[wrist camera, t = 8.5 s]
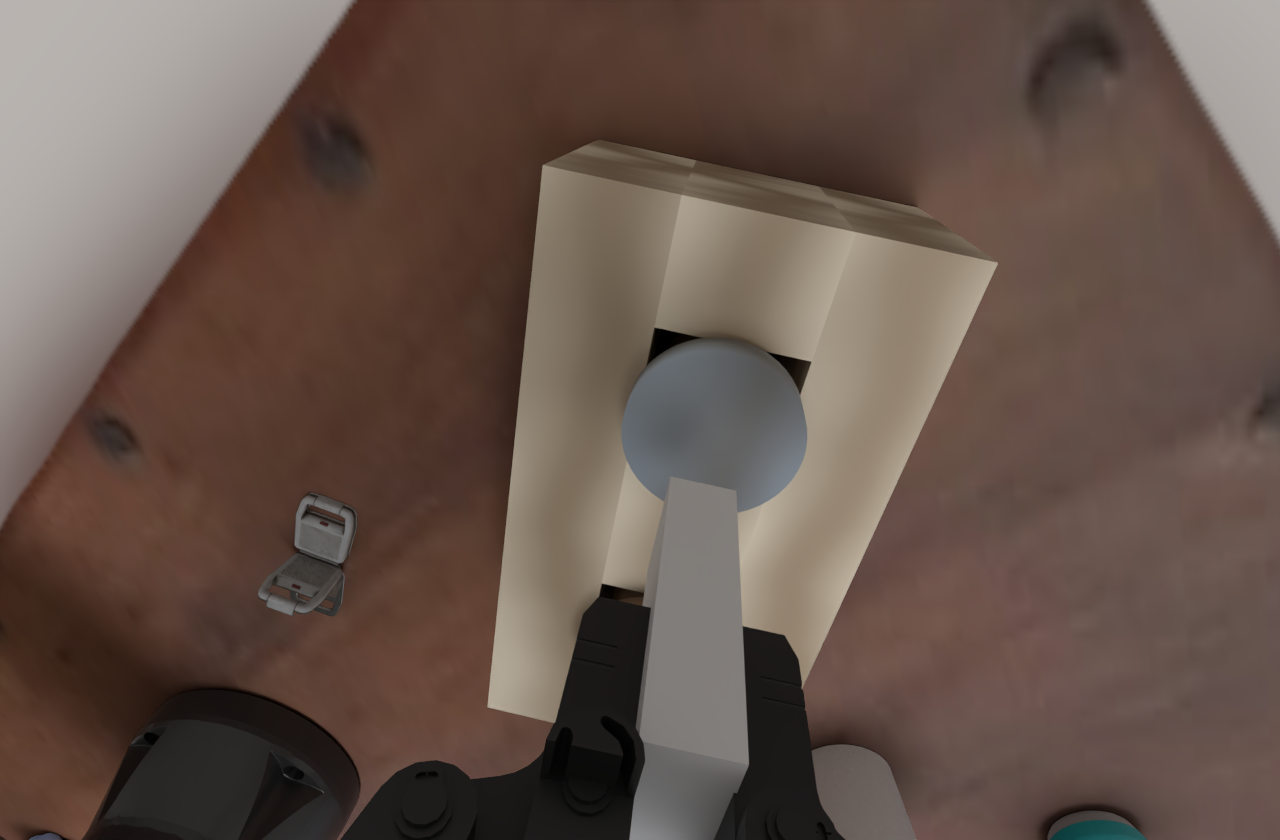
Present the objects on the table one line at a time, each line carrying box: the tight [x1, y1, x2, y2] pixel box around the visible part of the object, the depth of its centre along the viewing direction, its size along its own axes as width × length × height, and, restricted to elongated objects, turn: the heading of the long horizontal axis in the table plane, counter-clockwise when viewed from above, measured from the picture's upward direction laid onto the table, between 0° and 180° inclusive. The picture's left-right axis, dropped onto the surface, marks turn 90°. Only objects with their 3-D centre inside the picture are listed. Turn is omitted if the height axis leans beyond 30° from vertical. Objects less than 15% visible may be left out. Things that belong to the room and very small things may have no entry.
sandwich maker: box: [258, 493, 357, 616], centre depth 34 cm, size 8×3×4 cm, turn 159°
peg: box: [621, 331, 807, 513], centre depth 22 cm, size 5×5×9 cm
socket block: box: [488, 139, 998, 723], centre depth 25 cm, size 12×22×8 cm, turn 170°
